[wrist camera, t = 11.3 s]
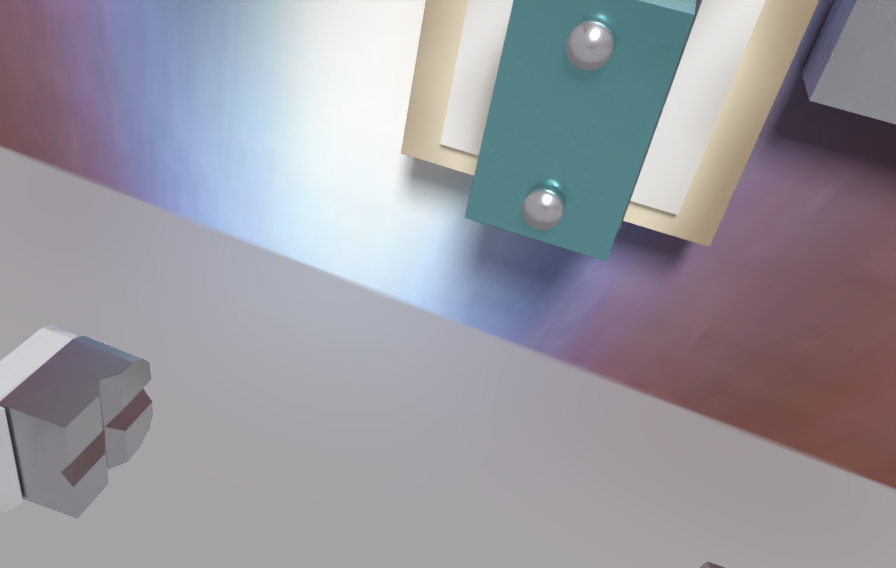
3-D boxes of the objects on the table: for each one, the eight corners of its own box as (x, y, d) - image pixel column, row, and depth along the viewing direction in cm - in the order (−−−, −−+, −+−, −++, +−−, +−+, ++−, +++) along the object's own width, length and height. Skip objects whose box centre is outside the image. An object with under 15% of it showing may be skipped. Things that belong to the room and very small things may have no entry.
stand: (824, -54, 26) (836, -35, 23) (710, 210, 31) (709, 250, 29) (472, -142, 27) (445, -133, 24) (424, 125, 33) (398, 156, 30)
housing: (707, -30, 24) (704, 14, 19) (626, 199, 28) (608, 278, 24) (548, -71, 25) (510, -37, 20) (494, 159, 29) (452, 229, 25)
